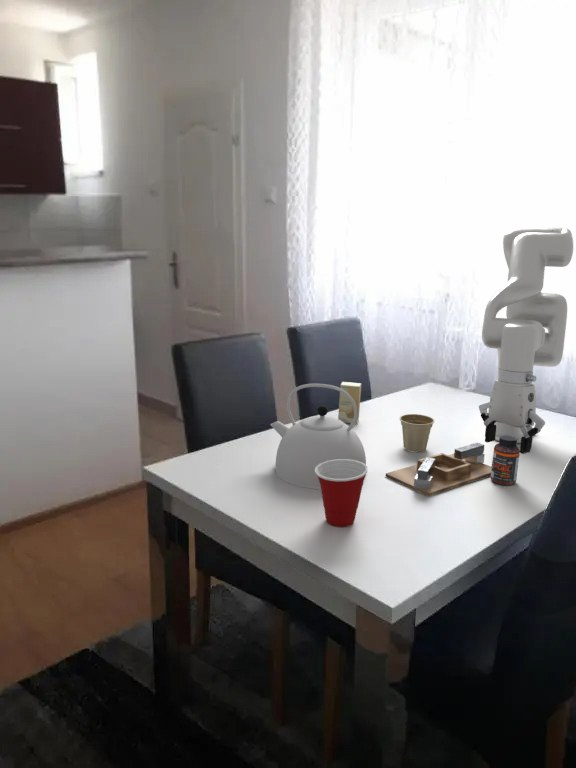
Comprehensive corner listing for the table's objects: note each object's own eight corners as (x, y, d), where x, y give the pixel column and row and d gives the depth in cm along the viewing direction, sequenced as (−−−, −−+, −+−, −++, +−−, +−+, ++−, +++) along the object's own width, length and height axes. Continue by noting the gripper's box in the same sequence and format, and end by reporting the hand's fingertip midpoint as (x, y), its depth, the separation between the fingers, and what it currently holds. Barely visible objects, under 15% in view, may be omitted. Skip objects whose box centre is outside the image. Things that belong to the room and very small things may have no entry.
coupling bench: (455, 455, 168) (456, 444, 167) (499, 472, 157) (500, 460, 156) (385, 476, 153) (386, 463, 153) (428, 496, 142) (429, 483, 142)
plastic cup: (310, 510, 134) (311, 457, 132) (359, 509, 135) (362, 457, 132) (316, 534, 124) (318, 477, 121) (370, 532, 125) (373, 476, 122)
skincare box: (337, 422, 195) (339, 384, 192) (339, 418, 199) (341, 381, 196) (358, 424, 194) (360, 386, 191) (359, 420, 198) (361, 382, 195)
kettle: (252, 479, 150) (252, 389, 145) (285, 449, 171) (286, 369, 166) (353, 496, 142) (357, 400, 137) (374, 462, 163) (379, 378, 157)
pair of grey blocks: (473, 458, 164) (475, 441, 163) (499, 467, 158) (500, 450, 157) (398, 481, 149) (400, 463, 148) (423, 492, 142) (425, 473, 141)
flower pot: (432, 456, 168) (435, 425, 166) (397, 453, 170) (399, 422, 167) (431, 444, 177) (434, 415, 175) (398, 441, 178) (400, 412, 176)
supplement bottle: (489, 483, 150) (493, 439, 147) (491, 475, 155) (495, 432, 153) (515, 488, 148) (520, 443, 145) (516, 479, 153) (521, 435, 150)
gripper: (558, 382, 140) (548, 454, 144) (493, 368, 154) (486, 435, 158) (538, 385, 136) (529, 460, 140) (473, 371, 150) (467, 439, 153)
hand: (506, 446), depth 149 cm, fingers open, 9 cm apart
